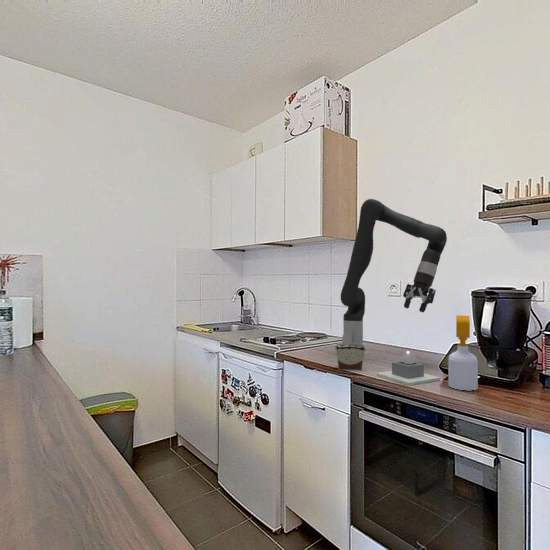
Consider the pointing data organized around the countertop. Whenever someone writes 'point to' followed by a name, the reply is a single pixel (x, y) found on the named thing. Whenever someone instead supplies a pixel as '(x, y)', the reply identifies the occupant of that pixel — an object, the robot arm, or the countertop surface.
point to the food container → (350, 356)
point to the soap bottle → (463, 360)
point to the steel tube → (408, 357)
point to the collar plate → (408, 374)
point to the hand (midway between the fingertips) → (413, 309)
